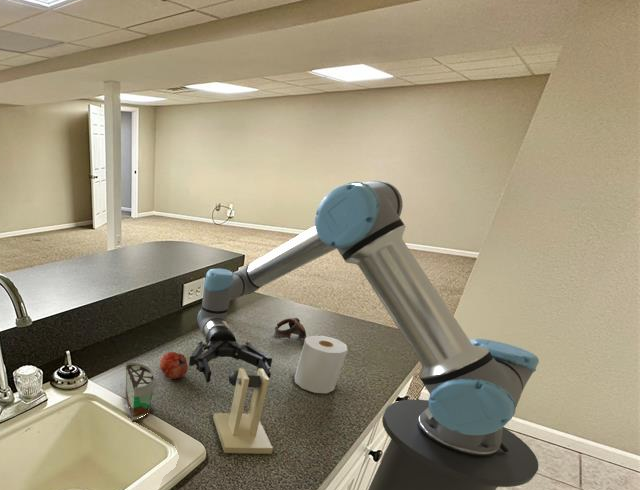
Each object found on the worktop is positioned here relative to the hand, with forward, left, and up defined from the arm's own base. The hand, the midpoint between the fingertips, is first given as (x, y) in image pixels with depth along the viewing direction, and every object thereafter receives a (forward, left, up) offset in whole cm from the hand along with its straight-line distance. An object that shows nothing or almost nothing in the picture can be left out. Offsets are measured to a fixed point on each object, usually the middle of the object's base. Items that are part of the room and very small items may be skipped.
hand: (238, 378), depth 92 cm
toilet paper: (-10, -28, -10) cm, 31 cm away
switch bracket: (-6, +6, -10) cm, 13 cm away
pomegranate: (+20, -4, -10) cm, 23 cm away
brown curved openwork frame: (+6, -51, -10) cm, 52 cm away
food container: (+16, +14, -10) cm, 24 cm away
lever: (-3, +3, 0) cm, 4 cm away
